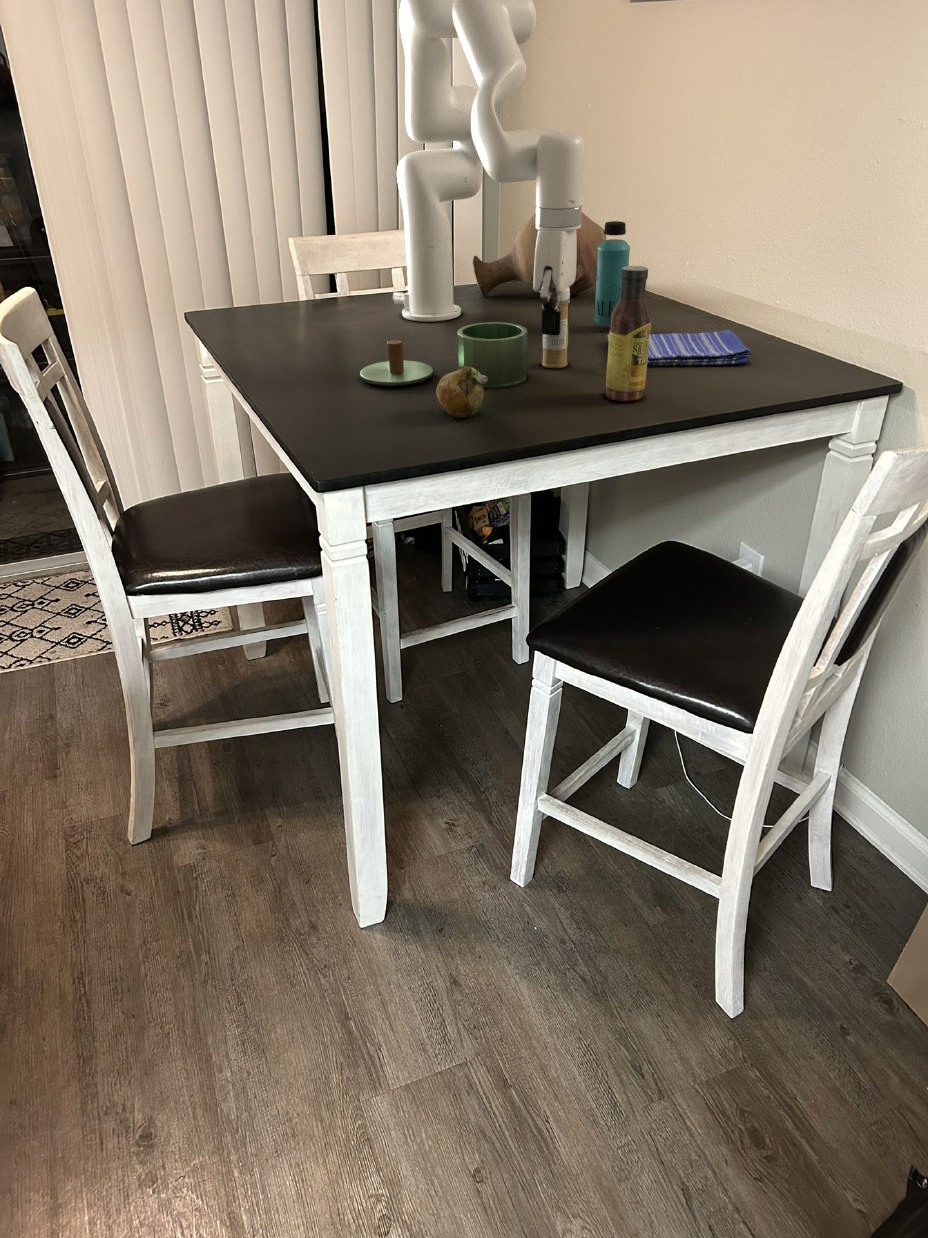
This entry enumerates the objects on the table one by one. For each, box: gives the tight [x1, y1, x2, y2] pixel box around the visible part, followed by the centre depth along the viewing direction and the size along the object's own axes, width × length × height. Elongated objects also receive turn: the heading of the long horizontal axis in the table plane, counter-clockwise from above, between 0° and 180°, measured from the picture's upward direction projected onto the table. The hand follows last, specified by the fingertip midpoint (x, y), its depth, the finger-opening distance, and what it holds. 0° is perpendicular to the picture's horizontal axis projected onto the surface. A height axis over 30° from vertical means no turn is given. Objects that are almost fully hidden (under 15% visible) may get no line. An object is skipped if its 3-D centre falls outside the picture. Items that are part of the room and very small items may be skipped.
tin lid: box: [359, 339, 434, 387], centre depth 158 cm, size 13×13×6 cm
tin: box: [457, 321, 528, 389], centre depth 156 cm, size 12×12×8 cm
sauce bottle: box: [605, 265, 652, 403], centre depth 143 cm, size 7×6×20 cm
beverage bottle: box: [593, 220, 631, 326], centre depth 178 cm, size 6×7×20 cm
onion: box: [435, 366, 488, 419], centre depth 141 cm, size 8×8×8 cm
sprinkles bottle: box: [541, 287, 571, 370], centre depth 160 cm, size 5×5×13 cm
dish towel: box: [607, 329, 753, 367], centre depth 168 cm, size 17×24×3 cm
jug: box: [472, 211, 607, 298], centre depth 205 cm, size 20×20×30 cm
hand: (555, 329), depth 160 cm, fingers closed on sprinkles bottle, 4 cm apart
